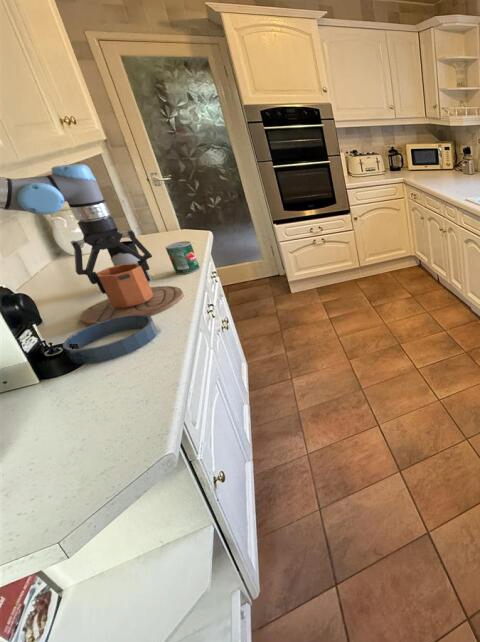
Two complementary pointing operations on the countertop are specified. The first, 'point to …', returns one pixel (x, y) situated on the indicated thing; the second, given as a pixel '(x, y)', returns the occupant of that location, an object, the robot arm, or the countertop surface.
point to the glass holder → (124, 255)
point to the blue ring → (115, 347)
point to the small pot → (125, 285)
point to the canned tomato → (182, 257)
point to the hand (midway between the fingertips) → (126, 285)
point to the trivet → (157, 304)
